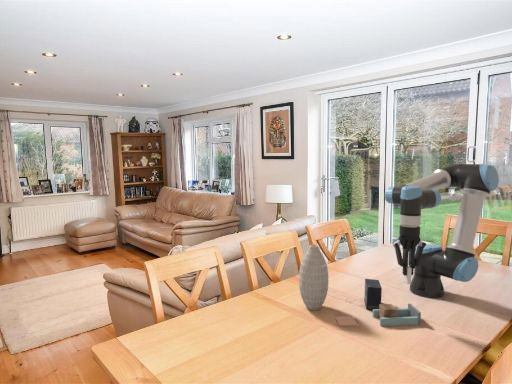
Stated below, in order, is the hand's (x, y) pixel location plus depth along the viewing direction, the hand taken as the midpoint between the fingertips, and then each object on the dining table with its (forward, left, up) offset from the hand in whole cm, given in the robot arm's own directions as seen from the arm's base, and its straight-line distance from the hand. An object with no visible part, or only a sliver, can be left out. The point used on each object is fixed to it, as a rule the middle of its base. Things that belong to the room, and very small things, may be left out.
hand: (407, 282), depth 142 cm
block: (+8, 0, -16) cm, 18 cm away
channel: (+5, 0, -16) cm, 16 cm away
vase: (+35, -15, -16) cm, 41 cm away
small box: (+8, -15, -16) cm, 23 cm away
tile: (+25, 0, -16) cm, 29 cm away
